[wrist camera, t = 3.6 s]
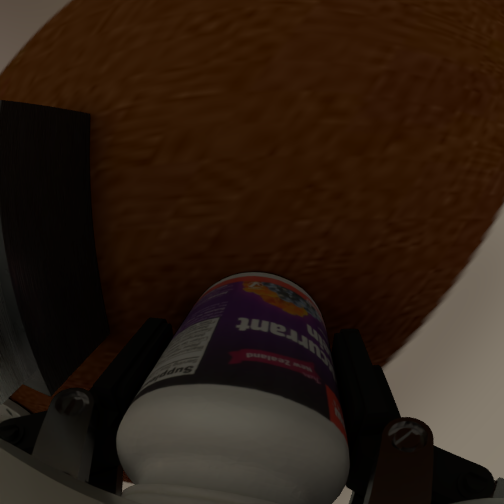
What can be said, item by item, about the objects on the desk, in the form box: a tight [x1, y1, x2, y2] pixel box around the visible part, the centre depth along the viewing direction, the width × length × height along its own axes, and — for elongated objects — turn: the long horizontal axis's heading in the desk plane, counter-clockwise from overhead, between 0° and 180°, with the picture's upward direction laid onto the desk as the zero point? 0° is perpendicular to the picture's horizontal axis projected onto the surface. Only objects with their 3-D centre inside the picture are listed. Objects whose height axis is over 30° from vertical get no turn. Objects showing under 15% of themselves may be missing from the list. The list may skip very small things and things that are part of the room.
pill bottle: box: [116, 272, 350, 504], centre depth 7 cm, size 5×5×10 cm
